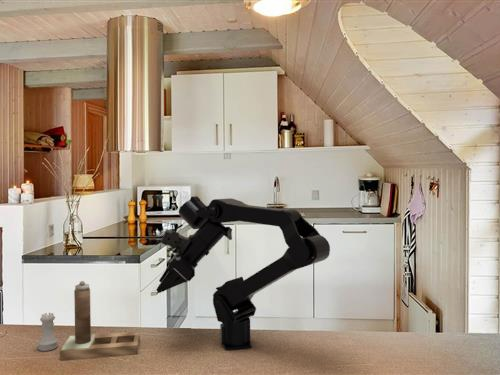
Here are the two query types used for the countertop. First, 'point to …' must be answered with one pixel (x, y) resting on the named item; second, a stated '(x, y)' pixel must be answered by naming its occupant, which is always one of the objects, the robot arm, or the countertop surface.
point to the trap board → (101, 346)
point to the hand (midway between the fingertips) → (159, 286)
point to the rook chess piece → (47, 333)
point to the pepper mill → (82, 313)
